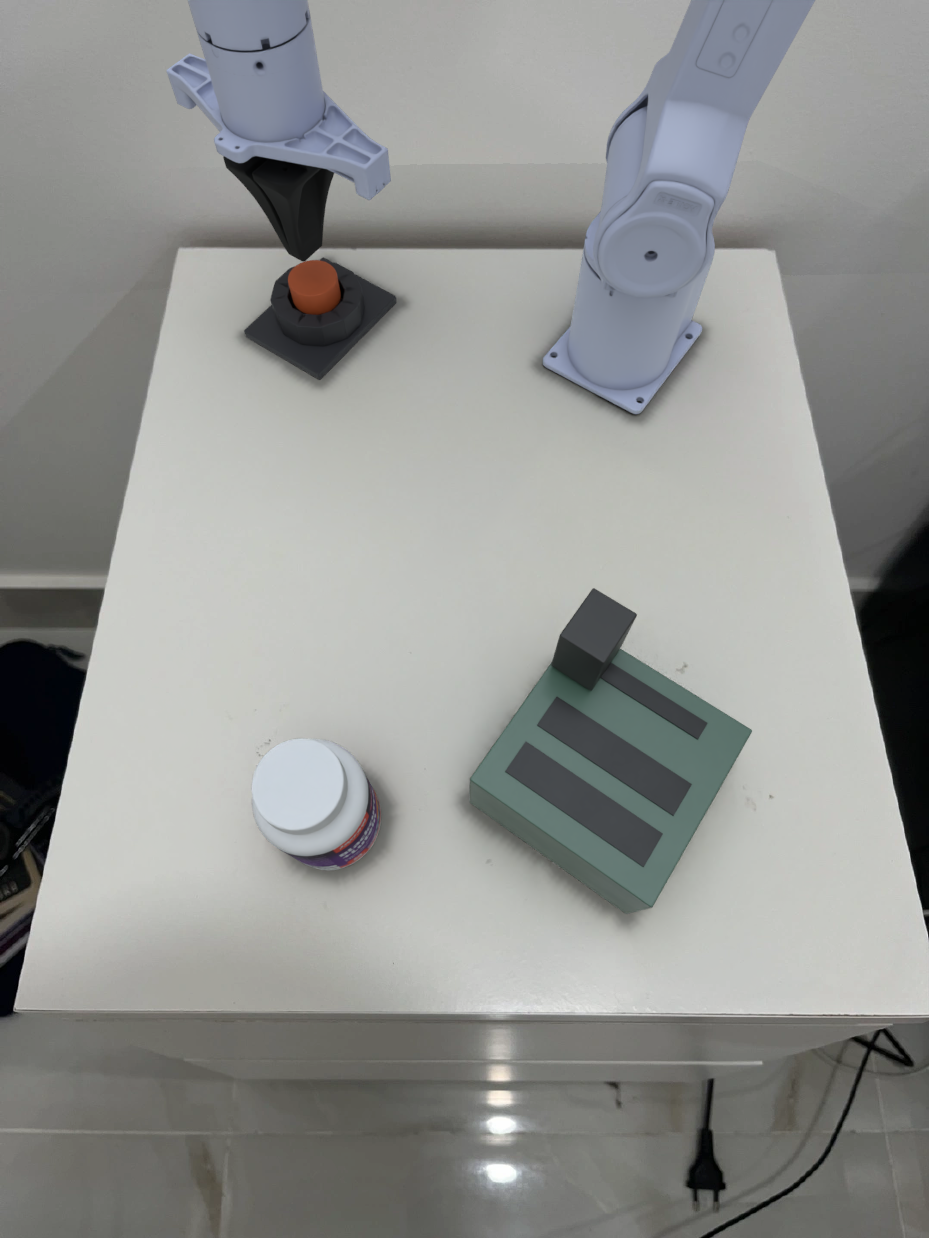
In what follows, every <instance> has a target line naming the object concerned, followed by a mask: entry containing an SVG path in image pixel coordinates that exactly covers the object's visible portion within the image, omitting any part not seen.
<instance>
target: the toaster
mask: <svg viewBox="0 0 929 1238" xmlns="http://www.w3.org/2000/svg"><path fill="white" fill-rule="evenodd" d="M551 664H552V661H551V662H550V663H549V665H548V666H547V668H546V669H545V671H544V672H543V673H542V675H541V676H540V678H539V680H537V682H536V684H535V685H534V686H533V687H532V689H531V691H530V692H529V693H528V695H527V696H526V698H525V699H524V700H523V702H522V703H521V705H520V706H519V708H518V709H517V711H516V712H515V713H514V715H513V716H512V718H511V719H510V721H508V723H507V724H506V727H504V729H503V731H502V732H501V733H500V735H499V736H498V738H497V739H496V741H495V742H494V743H493V745H492V746H491V748H490V749H489V750H488V752H487V753H486V755H485V756H484V758H483V759H482V760H481V762H480V763H479V765H478V766H477V768H476V769H475V770H474V772H473V773H472V775H471V776H470V778H469V804H471V805H472V806H474V807H475V808H477V809H478V810H479V811H481V812H482V813H484V814H485V815H486V816H487V817H489V818H490V819H492V820H494V821H495V822H496V823H497V824H499V825H500V826H502V827H503V828H505V830H507V831H509V832H510V833H511V834H513V835H514V836H516V837H517V838H518V839H520V840H521V841H523V842H524V843H526V844H527V845H528V846H530V847H531V848H533V849H534V850H536V851H537V852H538V853H540V854H541V855H543V856H544V857H545V858H546V859H548V860H550V861H551V862H552V863H554V864H555V865H556V866H558V867H559V868H560V869H562V870H564V871H565V872H566V873H568V874H569V875H571V876H572V877H573V878H574V879H576V880H577V881H578V882H580V883H582V884H583V885H584V886H586V887H587V888H588V889H590V890H592V891H593V892H594V893H596V894H597V895H599V896H600V897H601V898H602V899H604V900H606V901H607V902H608V903H610V904H611V905H612V906H614V907H615V908H617V909H618V910H620V912H622V913H624V914H625V915H628V914H632V913H636V912H640V911H644V910H648V909H652V908H653V907H654V905H655V903H656V902H657V901H658V899H659V897H660V895H661V893H662V892H663V889H664V888H665V886H666V884H667V883H668V881H669V879H670V877H671V876H672V874H673V872H674V870H675V869H676V867H677V865H678V863H679V862H680V859H681V858H682V856H683V854H684V852H685V851H686V849H687V847H688V845H689V844H690V842H691V841H692V838H693V837H694V835H695V834H696V831H697V830H698V828H699V827H700V825H701V823H702V821H703V819H704V818H705V816H706V814H707V812H708V810H709V809H710V807H711V805H712V803H713V802H714V800H715V799H716V796H717V794H718V793H719V792H720V789H721V787H722V786H723V784H724V782H725V780H726V779H727V776H728V775H729V774H730V772H731V770H732V768H733V766H734V765H735V762H736V761H737V759H738V758H739V756H740V754H741V752H742V751H743V749H744V747H745V745H746V743H747V742H748V740H749V738H750V736H751V734H753V730H752V728H750V727H748V726H746V725H745V724H743V723H742V722H740V721H739V720H737V719H735V718H734V717H733V716H730V715H729V714H727V713H726V712H724V711H722V710H721V709H719V708H718V707H716V706H714V705H712V704H711V703H710V702H708V701H706V700H705V699H704V698H703V699H702V698H701V697H700V696H698V695H696V694H695V693H693V692H692V691H690V690H688V689H686V688H685V687H683V686H682V685H680V684H679V683H677V682H675V681H674V680H672V679H671V678H669V677H667V676H665V675H664V674H662V673H661V672H660V671H658V670H656V669H654V668H653V667H651V666H650V665H648V664H647V663H645V662H643V661H642V660H640V659H638V658H637V657H635V656H633V655H632V654H630V653H628V652H627V651H626V650H624V649H622V648H620V649H619V651H618V652H617V654H616V655H615V657H614V658H613V660H612V661H611V663H610V664H609V666H608V667H607V669H606V670H605V672H604V673H603V675H602V676H601V678H600V679H599V681H598V682H597V684H596V685H595V687H594V688H593V690H592V691H590V690H589V689H587V688H585V687H584V686H582V685H581V684H579V683H578V682H576V681H574V680H573V679H571V678H570V677H568V676H567V675H565V674H564V673H562V672H560V671H559V670H557V669H556V668H554V667H553V666H551Z"/></svg>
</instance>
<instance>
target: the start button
mask: <svg viewBox="0 0 929 1238" xmlns="http://www.w3.org/2000/svg"><path fill="white" fill-rule="evenodd" d="M293 267H294V266H293ZM288 284H289V288H290V291H291V295H292V299H293V302H294V305H295V306H296V308H297V309H298V310H300V311H301V312H303V313H306V314H314V315H321V314H323V313H326V312H329V311H331V310H333V309H334V308H335V307H336V306H337V305H338V303H339V301H340V298H341V293H340V288H339V282H338V277H337V273H336V270H335V269H334V268H333V267H332V266H331V265H330V264H328V263H326V262H324V261H320V259H311V260H306V261H304V262H302V261H301V262H300V263H297V264H296V265H295V267H294V268H293V269H292V270H291V272H290V273H289V276H288Z"/></svg>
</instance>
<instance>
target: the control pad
mask: <svg viewBox="0 0 929 1238" xmlns="http://www.w3.org/2000/svg"><path fill="white" fill-rule="evenodd" d="M319 260H320V261H324V262H326V263H328V264H330V265H331V266H332V267H333V268H334V269H335V270H336V273H337V277H338V282H339V288H340V293H341V298H340V301H339V303H338V305H337V306H336V307H335V308H334V309H333V310H331V311H329V312H326V313H323V314H321V315H314V314H306V313H303V312H301V311H300V310H298V309H297V308H296V306H295V305H294V302H293V299H292V295H291V291H290V288H289V284H288V276H289V273H290V272H291V270H292V269H293V268H294V267H295V266H296V265H295V266H291V267H289V268H288V269H287V270H286V271H284V272H283V274H282V275H280V276H279V277H278V278H277V279H276V280H275V281H274V284H273V287H272V292H271V295H270V299H269V301H270V306H268V307H267V308H266V309H265V310H264V311H263V312H262V313H261V314H260V315H259V316H258V317H257V318H255V319H254V320H253V321H252V322H251V323H250V324H249V325H248V326H246V328H245V329H244V330H243V332H244V335H245V338H247V339H248V340H250V341H252V342H253V343H255V344H257V345H259V346H260V347H262V348H264V349H265V350H267V351H268V352H270V353H272V354H274V355H276V356H277V357H280V358H281V359H282V360H283V361H286V362H287V363H289V364H290V365H292V366H295V367H296V368H297V369H300V370H301V371H303V372H304V373H306V374H308V375H309V376H311V377H313V378H315V379H316V380H318V381H321V380H322V379H323V378H324V377H325V376H326V375H327V374H328V373H329V372H330V371H331V370H332V369H333V368H334V367H335V366H336V365H337V364H338V362H340V360H341V359H343V357H345V356H346V355H347V353H349V352H350V350H352V349H353V348H354V346H356V344H357V343H358V342H360V340H361V339H362V338H363V337H365V336H366V334H368V332H369V331H370V330H371V329H372V328H373V327H374V326H375V325H376V324H377V323H378V322H379V321H380V320H381V319H382V318H383V317H385V315H386V314H387V313H388V312H389V311H390V310H391V309H392V308H393V307H394V306H395V305H396V304H397V296H396V295H395V294H392V293H391V292H389V291H387V290H386V289H383V288H382V287H380V286H378V285H376V284H374V283H372V282H371V281H368V280H366V279H365V278H363V277H361V276H359V275H357V274H355V272H354V271H352V270H351V269H348V268H346V267H344V266H342V265H341V264H339V263H337V262H334V261H331V260H330V259H327V258H326V257H321V258H320V259H319Z"/></svg>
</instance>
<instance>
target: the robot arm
mask: <svg viewBox="0 0 929 1238" xmlns="http://www.w3.org/2000/svg"><path fill="white" fill-rule="evenodd" d="M815 2H816V0H690V2H689V5H688V6H687V9H686V12H685V14H684V16H683V19H682V21H681V23H680V26H679V28H678V31H677V33H676V35H675V38H674V40H673V43H672V45H671V47H670V49H669V51H668V53H666V54H665V55H664V56H663V57H661V58H660V59H658V61H657V62H656V63H655V64H654V67H653V68H652V71H651V74H650V76H649V79H648V81H647V83H646V85H645V87H644V88H643V89H642V91H641V93H640V94H639V95H638V96H637V98H636V99H635V100H634V101H633V102H631V104H629V105H628V106H627V107H626V108H625V109H623V111H622V112H621V113H620V114H619V115H618V116H617V118H616V119H615V121H614V123H613V125H612V126H611V128H610V131H609V133H608V137H607V140H606V149H605V161H606V168H605V175H604V176H605V177H604V184H603V192H602V199H601V206H600V207H601V208H600V211H599V212H598V214H597V215H596V216H595V217H594V218H593V220H592V221H591V222H590V223H589V226H588V227H587V230H586V232H585V237H584V243H583V250H582V255H581V259H580V260H581V261H580V267H579V273H578V278H577V279H578V280H577V284H576V285H577V286H576V291H575V298H574V303H573V310H572V316H571V322H570V326H569V327H568V328H567V329H566V331H565V332H564V333H563V334H562V335H561V336H560V337H559V339H558V340H557V341H556V342H555V343H554V345H553V346H552V347H551V348H550V349H549V350H548V351H547V353H546V354H545V355H544V356H543V357H542V365H543V366H544V367H545V368H546V369H548V370H550V371H552V372H553V373H556V374H558V375H559V376H561V377H563V378H565V379H567V380H569V381H571V382H572V383H574V384H576V385H578V386H580V387H582V388H583V389H585V390H587V391H589V392H591V393H593V394H595V395H596V396H599V397H601V398H602V399H604V400H606V401H609V402H610V403H612V404H614V405H615V406H618V407H619V408H621V409H623V410H626V411H627V412H629V413H630V414H633V415H639V414H641V413H642V412H643V411H644V410H645V408H646V407H647V406H648V405H649V403H650V401H651V400H652V399H653V397H655V395H656V394H657V392H658V391H659V390H660V389H661V387H662V386H663V384H664V383H665V382H666V380H667V379H668V378H669V377H670V375H671V374H672V372H673V371H674V370H675V369H676V368H677V366H678V365H679V363H680V362H681V360H682V359H683V358H684V357H685V356H686V354H687V353H688V352H689V350H690V349H691V347H692V346H693V345H694V344H695V342H696V341H697V339H698V338H699V337H700V335H701V334H702V331H703V326H702V325H701V324H700V323H698V322H696V321H695V320H693V318H694V314H695V312H696V309H697V306H698V303H699V302H700V301H699V300H700V298H701V295H702V292H703V289H704V286H705V284H706V280H707V278H708V275H709V272H710V269H711V266H712V264H713V261H714V257H715V253H716V245H715V244H716V243H715V238H714V233H713V227H714V222H715V219H716V217H717V215H718V213H719V211H720V209H721V207H722V206H723V204H724V202H725V200H726V199H727V196H728V193H729V191H730V188H731V184H732V181H733V177H734V173H735V170H736V166H737V162H738V159H739V157H740V152H741V149H742V145H743V141H744V138H745V136H746V135H745V134H746V132H747V128H748V125H749V121H750V119H751V117H752V116H753V114H754V112H755V110H756V109H757V107H758V105H759V103H760V101H761V99H762V97H763V96H764V94H765V93H766V90H767V88H768V87H769V85H770V83H771V81H772V80H773V78H774V76H775V74H776V72H777V70H779V69H778V68H779V67H780V65H781V63H782V61H783V60H784V58H785V56H786V55H787V52H788V51H789V49H790V47H791V45H792V44H793V42H794V40H795V38H796V37H797V34H798V32H799V31H800V29H801V27H802V25H803V24H804V22H805V20H806V18H807V16H808V15H809V13H810V11H811V9H812V7H813V6H814V4H815ZM187 3H188V7H189V10H190V11H189V12H190V14H191V18H192V21H193V25H194V27H195V30H196V34H197V37H198V41H199V44H200V48H201V50H202V54H203V57H204V58H203V57H200V56H197V55H195V54H193V53H190V52H189V53H188V54H186V55H185V56H183V57H182V58H181V59H180V60H178V61H176V62H175V63H174V64H173V65H171V66H170V67H168V68H167V69H166V70H165V72H166V75H167V78H168V80H169V83H170V86H171V89H172V92H173V95H174V97H175V101H176V103H177V105H179V106H181V107H183V108H185V109H187V110H193V109H194V108H196V107H198V108H199V109H200V111H201V112H202V113H203V114H204V115H205V117H206V118H207V119H208V120H209V121H210V122H211V123H212V125H213V126H214V127H215V128H216V129H217V131H218V132H219V133H217V134H215V137H214V138H213V143H214V146H215V150H216V152H217V153H218V154H219V155H221V156H222V158H223V162H224V165H225V168H226V169H227V170H228V171H229V172H230V173H231V174H232V175H233V176H234V177H235V178H236V179H237V180H238V181H239V182H240V183H241V184H242V185H243V186H244V187H245V188H246V190H247V191H248V192H249V194H250V195H251V196H252V197H253V199H254V200H255V202H256V203H257V204H258V205H259V207H260V208H261V211H262V212H263V213H264V215H265V216H266V218H267V220H268V221H269V223H270V224H271V226H272V228H273V230H274V233H275V234H276V235H277V237H278V239H279V241H280V242H281V244H282V246H283V247H284V250H285V251H286V252H287V253H288V255H290V256H291V257H294V258H295V259H297V260H298V261H300V262H301V263H302V262H305V261H308V259H309V258H310V257H312V256H313V255H314V254H315V253H316V252H317V251H318V250H319V249H320V248H321V247H322V246H323V239H324V222H325V213H326V208H327V207H326V206H327V202H328V201H327V200H328V195H329V192H330V188H331V186H332V185H331V184H332V181H333V178H334V176H335V175H337V176H339V177H342V178H344V179H346V180H347V181H349V182H351V183H354V188H355V194H356V195H357V196H359V197H361V198H363V199H365V200H367V201H371V200H372V199H373V198H375V196H376V195H378V194H379V193H380V192H381V191H383V190H384V188H385V187H387V185H388V184H389V183H390V182H392V177H391V167H390V157H389V148H387V147H386V146H384V145H382V144H380V143H379V142H377V141H376V140H374V139H372V138H371V137H370V136H369V135H368V134H366V132H364V130H362V129H361V128H360V126H359V125H357V124H356V123H355V122H354V120H352V118H350V116H348V115H347V113H346V112H345V111H344V110H343V109H342V108H341V107H340V106H339V105H338V104H337V103H336V102H335V101H334V100H333V99H332V98H331V96H329V95H328V94H327V93H326V92H325V91H324V88H323V83H322V77H321V71H320V65H319V64H320V63H319V59H318V53H317V46H316V41H315V35H314V30H313V24H312V23H313V22H312V18H311V13H310V12H311V11H310V7H309V0H187Z"/></svg>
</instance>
